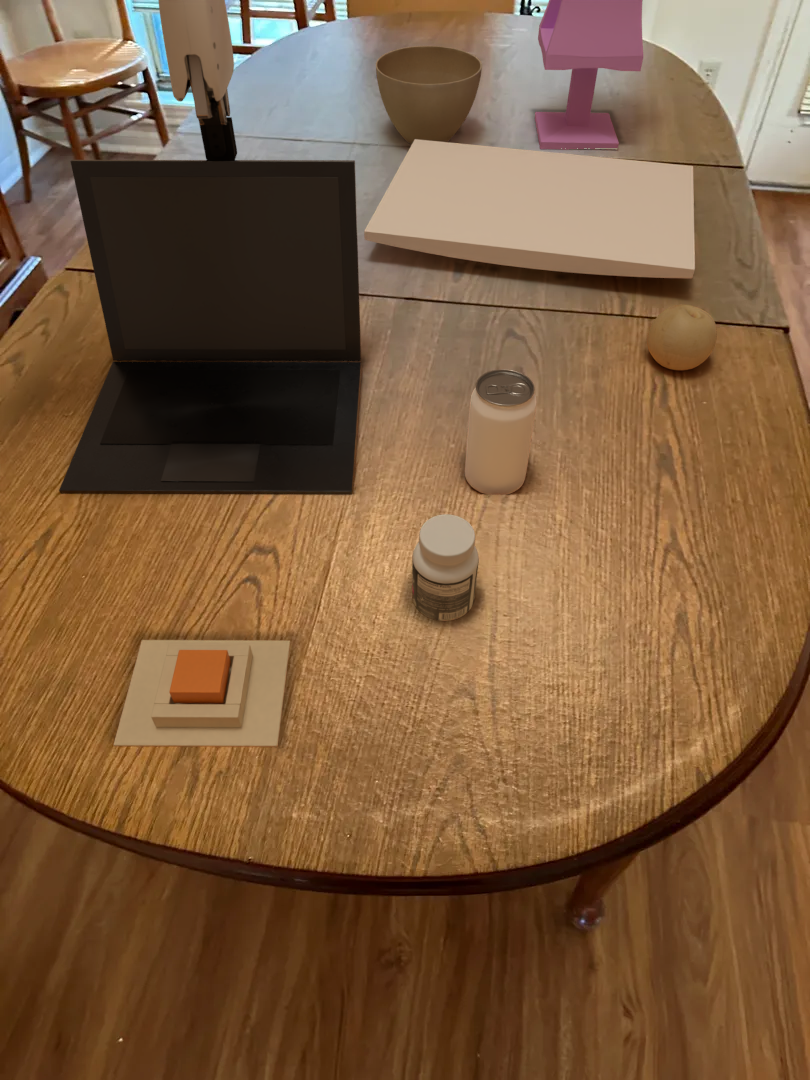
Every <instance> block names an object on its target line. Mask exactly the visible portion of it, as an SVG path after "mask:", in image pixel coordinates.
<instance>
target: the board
mask: <svg viewBox="0 0 810 1080" xmlns="http://www.w3.org/2000/svg"><path fill="white" fill-rule="evenodd" d="M694 192H695V191H694V166H693V165H687V164H686V165H685V164H677V163H676V164H675V163H665V162H655V161H645V160H634V159H624V158H614V157H613V158H612V157H604V156H594V155H593V156H592V155H585V154H584V155H583V154H572V153H563V152H562V153H561V152H552V151H542V150H530V149H523V148H522V149H520V148H510V147H501V146H490V145H479V144H470V143H457V142H450V141H448V142H439V141H428V140H418V139H415V140H414V142H413V143H412V144H410V147H409V149H408V151H407V153H406V154H405V156H404V158H403V160H402V161H401V163H400V165H399V167H398V169H397V171H396V173H395V174H394V176H393V178H392V180H391V182H390V183H389V185H388V186H387V188H386V191H385V193H384V194H383V197H382V198H381V200H380V202H379V203H378V205H377V207H376V209H375V211H374V213H373V214H372V216H371V217H370V219H369V222H368V224H367V225H366V227H365V229H364V231H363V234H364V235H363V236H364V241H369V242H371V243H377V244H382V245H386V246H391V247H396V248H399V249H404V250H410V251H415V252H421V253H426V254H431V255H436V256H443V257H448V258H453V259H459V260H466V261H473V262H478V263H479V262H480V263H485V264H493V265H501V266H509V267H516V268H523V269H524V268H525V269H531V270H541V271H542V270H543V271H550V272H551V271H552V272H560V273H561V272H562V273H571V274H573V273H574V274H584V275H585V274H586V275H597V276H598V275H599V276H614V277H615V276H617V277H631V278H633V277H634V278H656V279H657V278H658V279H659V278H660V279H663V278H664V279H693V277H694V275H695V270H696V254H695V251H696V249H695V203H694V198H695V197H694V196H695V195H694V194H695V193H694Z"/></svg>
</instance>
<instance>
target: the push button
mask: <svg viewBox="0 0 810 1080" xmlns="http://www.w3.org/2000/svg"><path fill="white" fill-rule="evenodd" d="M230 664H231V660H230V657H229V654H228V651H227V650H179V652H178V657H177V661H176V665H175V670H174V674H173V678H172V683H171V687H170V691H169V693H170V695H171V697H172V699H173V702H174V703H224V698H225V692H226V686H227V681H228V675H229V669H230Z"/></svg>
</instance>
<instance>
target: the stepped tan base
mask: <svg viewBox="0 0 810 1080" xmlns="http://www.w3.org/2000/svg"><path fill="white" fill-rule="evenodd" d="M140 641H141V642H140V645H139V649H138V652H137V657H136V660H135V663H134V668H133V672H132V675H131V679H130V682H129V686H128V690H127V693H126V697H125V701H124V704H123V707H122V712H121V715H120V719H119V723H118V727H117V730H116V734H115V738H114V742H113V746H114V747H173V748H174V747H177V748H178V747H185V748H189V747H191V748H192V747H194V748H195V747H196V748H197V747H199V748H201V747H202V748H203V747H204V748H207V747H209V748H213V747H214V748H215V747H217V748H219V747H220V748H278V746H279V741H280V740H279V739H280V732H281V723H282V716H283V715H282V714H283V708H284V699H285V689H286V682H287V673H288V666H289V665H288V664H289V657H290V650H291V649H290V648H291V640H287V639H286V640H280V639H279V640H276V639H275V640H274V639H273V640H271V639H269V640H268V639H267V640H265V639H264V640H263V639H262V640H260V639H258V640H255V639H254V640H253V639H252V640H251V639H249V640H248V639H246V640H245V639H141V640H140ZM179 650H227V651H228V654H229V657H230V660H231V664H230V669H229V675H228V681H227V686H226V692H225V698H224V703H174V702H173V699H172V697H171V695H170V693H169V691H170V687H171V683H172V678H173V674H174V670H175V665H176V661H177V657H178V652H179Z"/></svg>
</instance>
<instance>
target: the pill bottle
mask: <svg viewBox="0 0 810 1080" xmlns="http://www.w3.org/2000/svg"><path fill="white" fill-rule="evenodd" d="M418 534H419V535H418V542H417V543H416V544H415V547H414V549H413V550H412V551H413V552H412V560H411V566H412V570H411V576H412V577H411V597H412V599H411V600H412V603H413V605H414V607H415V608H416V610H417V611H418V612H419V613H420V614H422V615H423V616H425V617H426V618H428V619H430V620H434V621H437V622H450V621H455V620H458V619H460V618H462V617H464V616H465V615H467V614H468V613H469V611H470V610H471V609H472V607H473V606H474V603H475V597H476V588H477V580H478V579H477V578H478V572H479V571H478V570H479V564H480V563H479V562H480V557H479V552H478V551H479V550H478V548H477V547H476V543H475V542H476V532H475V529H474V527H473V526H472V525H471V523H470V522H469V521H468V520H467V519H465V518H463V517H462V516H460V515H459V516H458V515H455V514H448V513H446V514H445V513H444V514H438V515H434V516H432V517H430V518H429V519H427V520H426V521H425V522H424V523H423V524H422V525H421V528H420V529H419V533H418Z"/></svg>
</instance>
